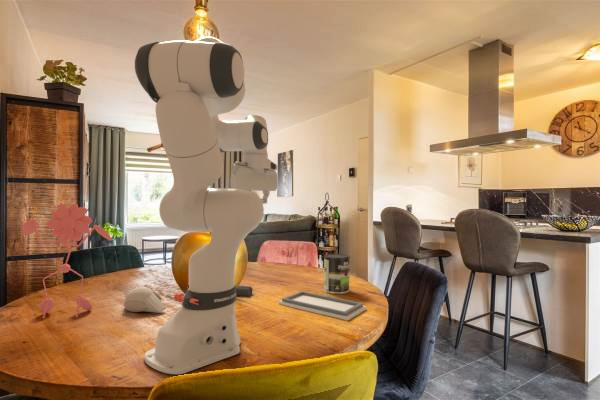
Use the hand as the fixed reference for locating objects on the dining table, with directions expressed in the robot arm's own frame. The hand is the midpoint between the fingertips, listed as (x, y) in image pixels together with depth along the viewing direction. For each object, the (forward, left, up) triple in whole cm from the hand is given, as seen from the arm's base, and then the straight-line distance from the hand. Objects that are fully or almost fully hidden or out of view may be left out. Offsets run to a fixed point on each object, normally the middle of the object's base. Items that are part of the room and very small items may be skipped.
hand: (254, 203), depth 116 cm
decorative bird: (-24, +19, -37) cm, 48 cm away
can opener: (+6, +18, -32) cm, 38 cm away
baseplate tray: (+12, -20, -35) cm, 42 cm away
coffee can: (+33, -14, -35) cm, 50 cm away
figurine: (-41, +42, -35) cm, 68 cm away
